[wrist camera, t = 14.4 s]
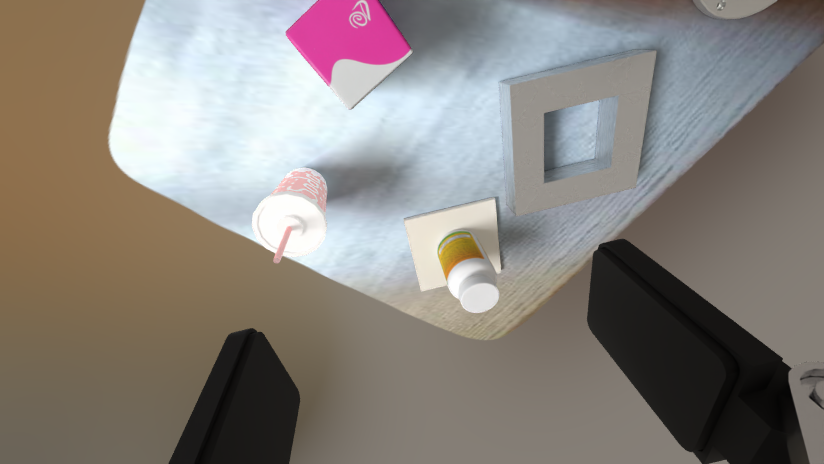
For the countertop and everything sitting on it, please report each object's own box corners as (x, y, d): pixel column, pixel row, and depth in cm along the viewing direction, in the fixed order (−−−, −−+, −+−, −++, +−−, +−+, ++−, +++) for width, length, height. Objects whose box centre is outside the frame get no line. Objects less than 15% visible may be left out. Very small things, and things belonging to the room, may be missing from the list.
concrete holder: (634, 49, 34) (656, 50, 31) (618, 178, 41) (635, 187, 38) (498, 81, 33) (509, 85, 31) (506, 205, 41) (516, 216, 38)
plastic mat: (493, 197, 40) (495, 199, 39) (499, 269, 45) (501, 272, 45) (403, 218, 40) (403, 221, 39) (420, 288, 45) (421, 291, 45)
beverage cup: (346, 189, 37) (337, 260, 25) (307, 222, 38) (282, 306, 26) (302, 148, 34) (270, 206, 22) (263, 186, 36) (212, 260, 24)
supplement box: (399, 50, 31) (416, 55, 21) (352, 93, 32) (346, 116, 22) (357, -11, 28) (354, -39, 19) (307, 38, 30) (279, 36, 20)
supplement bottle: (427, 251, 42) (443, 305, 33) (456, 220, 40) (480, 268, 32) (458, 271, 44) (480, 325, 36) (487, 242, 42) (517, 292, 34)
